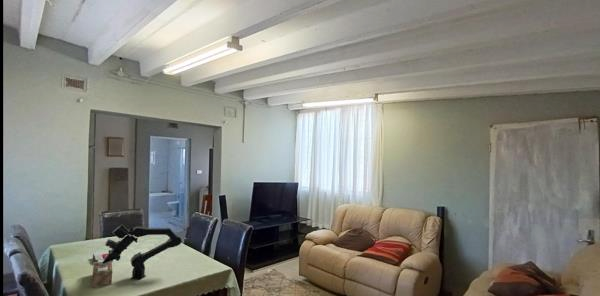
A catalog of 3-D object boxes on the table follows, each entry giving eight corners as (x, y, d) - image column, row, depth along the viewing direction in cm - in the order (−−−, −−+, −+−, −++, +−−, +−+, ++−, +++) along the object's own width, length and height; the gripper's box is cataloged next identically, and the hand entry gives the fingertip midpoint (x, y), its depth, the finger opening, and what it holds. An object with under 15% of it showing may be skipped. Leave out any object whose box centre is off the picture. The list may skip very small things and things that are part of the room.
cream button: (107, 271, 202) (107, 266, 202) (107, 274, 198) (107, 269, 198) (97, 273, 200) (97, 268, 200) (97, 275, 195) (97, 270, 195)
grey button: (107, 263, 212) (107, 258, 212) (107, 266, 207) (107, 261, 207) (97, 264, 209) (98, 259, 209) (97, 267, 205) (98, 262, 205)
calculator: (94, 259, 228) (93, 252, 240) (94, 266, 228) (92, 258, 240) (112, 257, 234) (110, 250, 246) (112, 263, 235) (109, 256, 247)
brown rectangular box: (110, 272, 215) (111, 259, 216) (111, 284, 196) (112, 270, 197) (92, 274, 210) (93, 261, 210) (91, 287, 191) (92, 273, 192)
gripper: (114, 231, 210) (92, 250, 204) (115, 238, 194) (92, 259, 188) (127, 242, 214) (106, 261, 208) (129, 250, 198) (106, 271, 192)
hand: (102, 263), depth 199 cm, fingers closed
